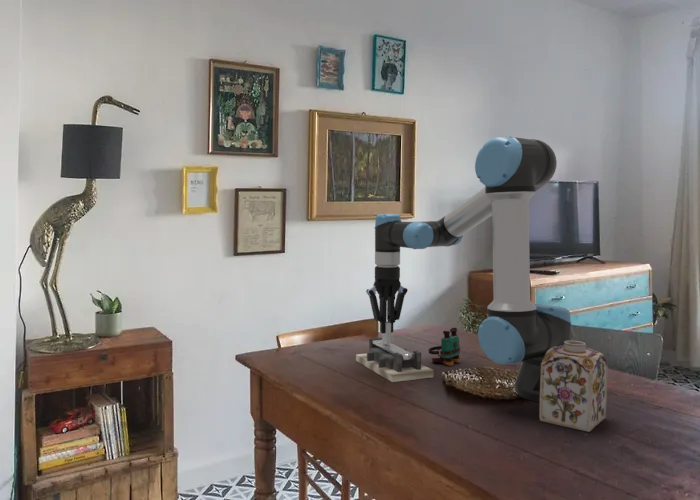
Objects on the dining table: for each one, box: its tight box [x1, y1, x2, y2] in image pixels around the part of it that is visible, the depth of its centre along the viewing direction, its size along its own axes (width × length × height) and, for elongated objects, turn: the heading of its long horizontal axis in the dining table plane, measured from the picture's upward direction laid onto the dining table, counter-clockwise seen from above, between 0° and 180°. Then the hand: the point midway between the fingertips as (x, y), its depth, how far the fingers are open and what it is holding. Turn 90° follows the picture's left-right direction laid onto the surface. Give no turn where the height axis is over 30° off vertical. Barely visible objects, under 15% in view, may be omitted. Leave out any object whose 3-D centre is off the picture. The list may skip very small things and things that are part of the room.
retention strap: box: [373, 340, 415, 360], centre depth 187 cm, size 20×4×2 cm, turn 23°
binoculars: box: [428, 327, 462, 367], centre depth 195 cm, size 9×11×10 cm
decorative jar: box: [538, 340, 609, 433], centre depth 143 cm, size 12×12×18 cm
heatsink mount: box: [355, 337, 435, 383], centre depth 187 cm, size 25×13×7 cm, turn 23°
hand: (386, 343), depth 191 cm, fingers closed
